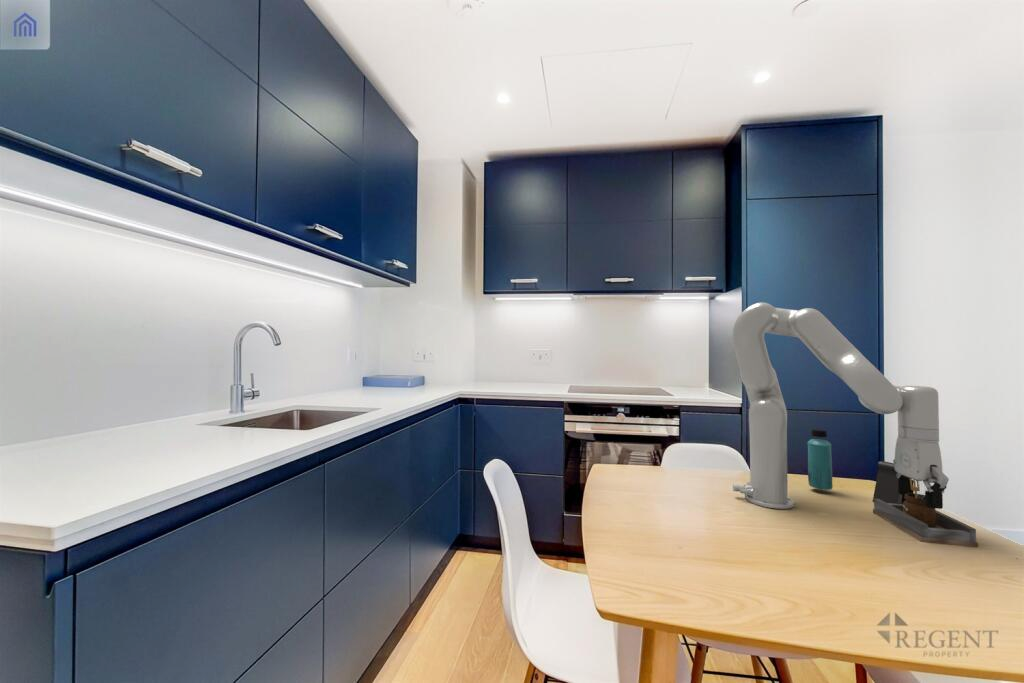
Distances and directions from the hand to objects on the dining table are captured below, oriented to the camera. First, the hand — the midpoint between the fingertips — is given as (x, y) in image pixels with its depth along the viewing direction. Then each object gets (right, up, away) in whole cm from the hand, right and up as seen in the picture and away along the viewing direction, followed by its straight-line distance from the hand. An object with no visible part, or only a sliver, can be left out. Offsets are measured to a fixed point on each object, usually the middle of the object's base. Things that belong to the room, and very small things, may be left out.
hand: (919, 500), depth 104 cm
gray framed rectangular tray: (0, -7, 0) cm, 7 cm away
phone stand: (+9, -8, +17) cm, 21 cm away
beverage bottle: (-4, -8, +28) cm, 29 cm away
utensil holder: (0, -6, 0) cm, 6 cm away
